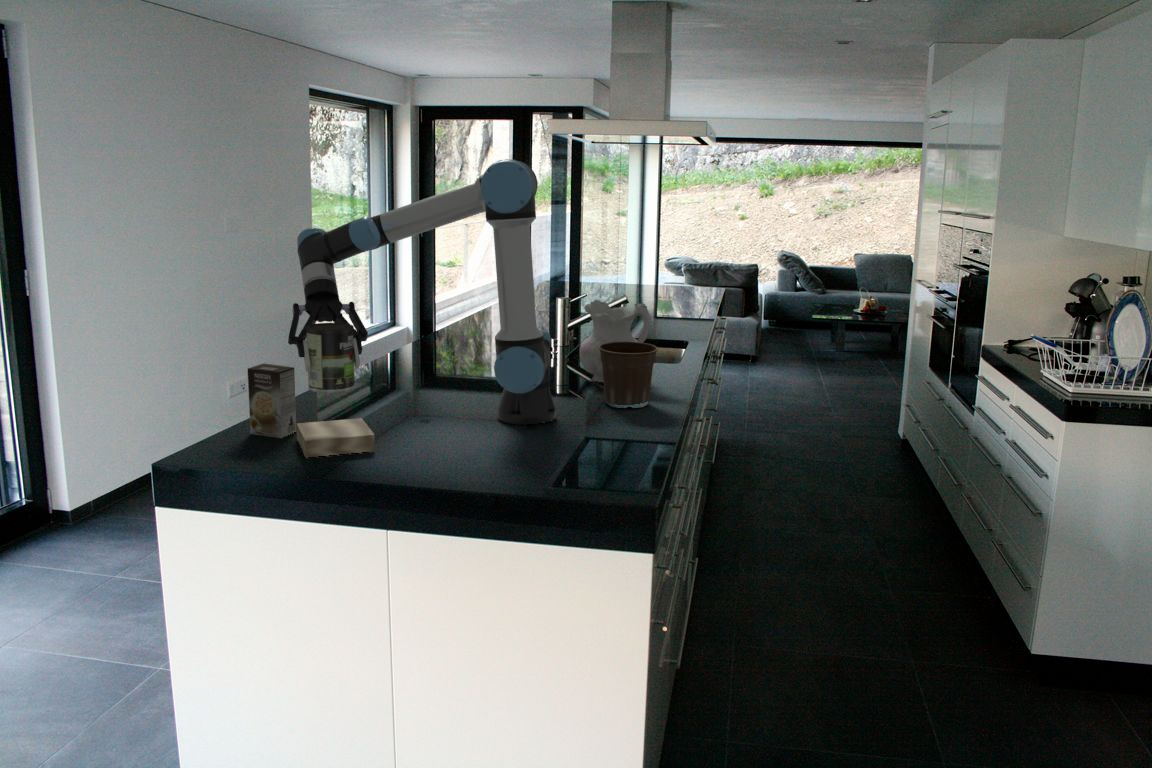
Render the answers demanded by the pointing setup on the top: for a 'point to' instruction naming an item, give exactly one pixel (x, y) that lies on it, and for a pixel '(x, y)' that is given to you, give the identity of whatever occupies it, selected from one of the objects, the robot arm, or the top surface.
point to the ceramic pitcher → (609, 332)
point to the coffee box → (272, 400)
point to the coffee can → (330, 357)
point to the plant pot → (627, 371)
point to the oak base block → (335, 437)
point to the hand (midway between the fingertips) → (333, 366)
